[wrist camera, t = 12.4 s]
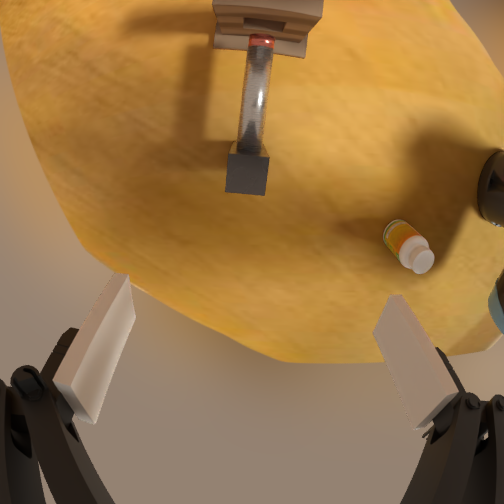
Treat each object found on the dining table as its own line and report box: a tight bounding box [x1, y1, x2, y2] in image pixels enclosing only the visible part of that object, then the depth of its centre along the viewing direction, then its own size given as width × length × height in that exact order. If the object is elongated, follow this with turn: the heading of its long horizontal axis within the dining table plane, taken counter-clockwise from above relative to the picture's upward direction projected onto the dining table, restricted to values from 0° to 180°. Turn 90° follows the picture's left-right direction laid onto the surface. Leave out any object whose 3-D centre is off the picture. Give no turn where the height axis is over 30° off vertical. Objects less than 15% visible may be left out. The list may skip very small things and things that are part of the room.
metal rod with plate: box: [225, 33, 275, 196], centre depth 29 cm, size 18×4×11 cm, turn 174°
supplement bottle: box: [383, 219, 434, 274], centre depth 39 cm, size 5×5×10 cm
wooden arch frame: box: [212, 0, 324, 59], centre depth 23 cm, size 8×12×13 cm, turn 84°
